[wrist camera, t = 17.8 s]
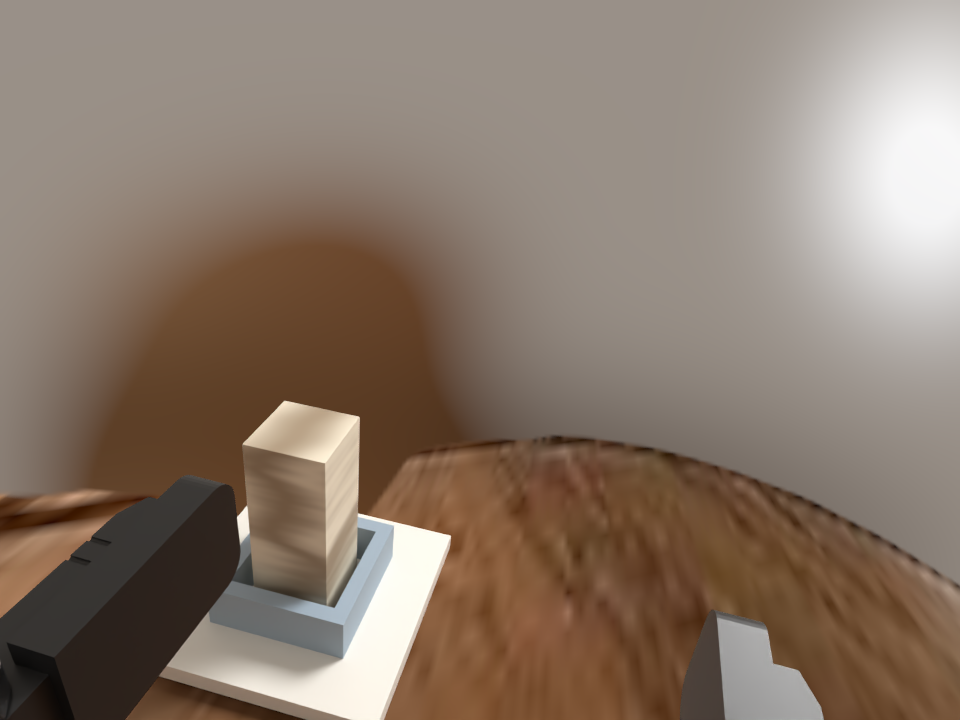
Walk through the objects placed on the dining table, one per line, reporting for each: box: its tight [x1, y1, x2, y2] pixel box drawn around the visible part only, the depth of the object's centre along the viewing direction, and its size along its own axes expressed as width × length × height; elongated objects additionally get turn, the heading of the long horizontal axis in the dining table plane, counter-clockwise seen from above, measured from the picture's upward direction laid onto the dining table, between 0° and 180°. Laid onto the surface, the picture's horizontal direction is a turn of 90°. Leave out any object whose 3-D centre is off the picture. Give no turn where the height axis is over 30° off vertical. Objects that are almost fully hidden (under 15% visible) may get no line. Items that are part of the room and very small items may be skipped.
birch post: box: [242, 401, 360, 608], centre depth 42 cm, size 5×5×13 cm
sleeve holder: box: [159, 506, 451, 720], centre depth 45 cm, size 16×16×4 cm
